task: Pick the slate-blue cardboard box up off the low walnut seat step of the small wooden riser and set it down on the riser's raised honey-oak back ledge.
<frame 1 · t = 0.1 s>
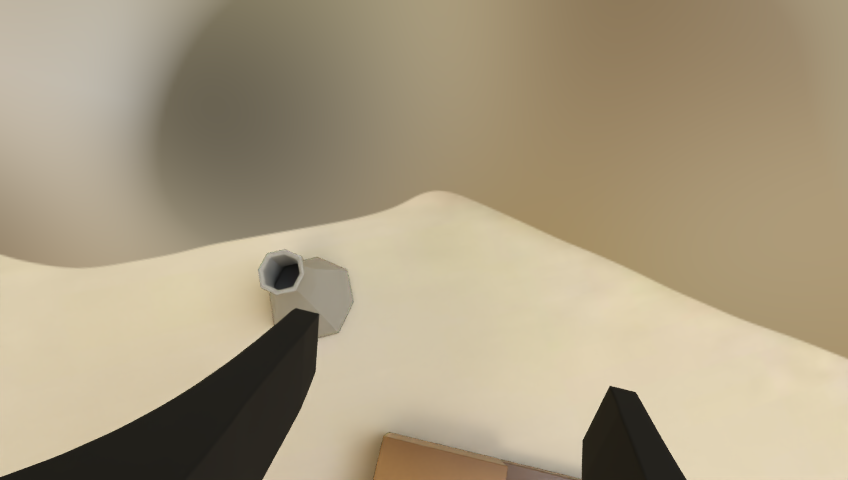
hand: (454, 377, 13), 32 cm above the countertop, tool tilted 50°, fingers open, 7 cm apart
flask: (312, 298, 46), on the countertop
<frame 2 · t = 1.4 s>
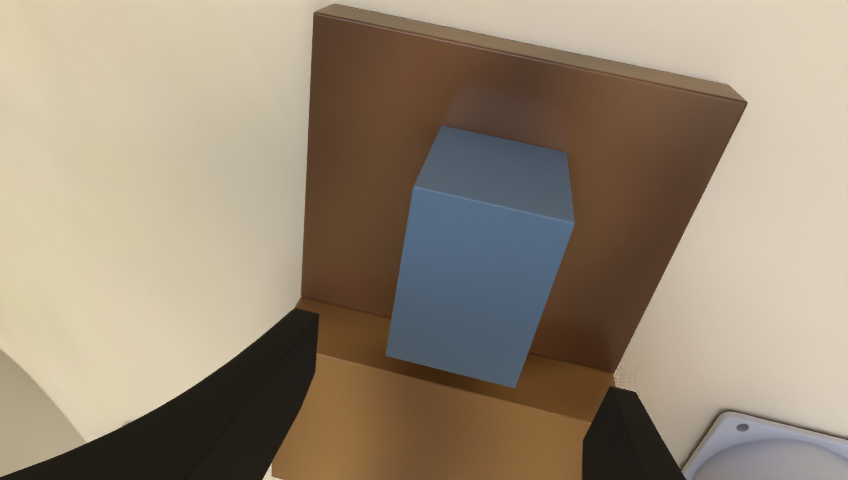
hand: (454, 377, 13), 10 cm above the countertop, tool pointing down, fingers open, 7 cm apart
riser: (463, 290, 25), on the countertop
blue box: (483, 217, 20), point 2 cm above the countertop, touching riser
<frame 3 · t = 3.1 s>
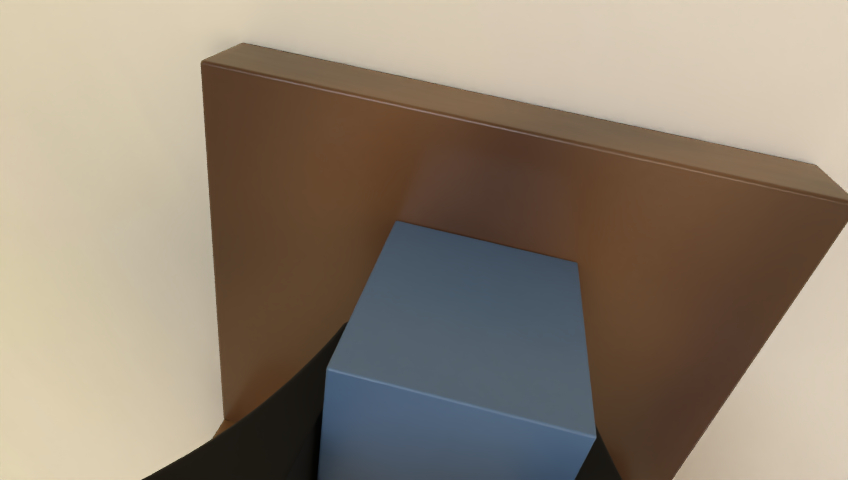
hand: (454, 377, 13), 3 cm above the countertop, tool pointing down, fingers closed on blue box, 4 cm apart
riser: (439, 406, 19), on the countertop
blue box: (459, 339, 14), point 2 cm above the countertop, touching gripper, riser
when the fingers open (6 cm above the countertop, at t = 6.9 s): blue box stays where it is, resting on riser.
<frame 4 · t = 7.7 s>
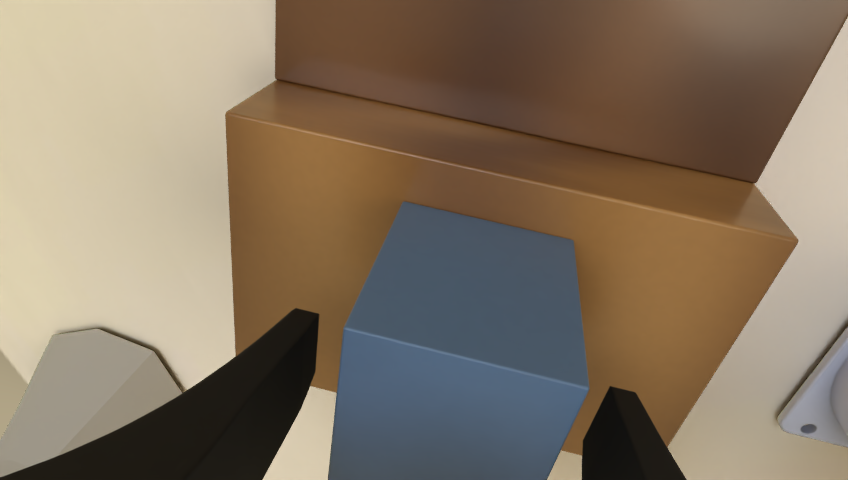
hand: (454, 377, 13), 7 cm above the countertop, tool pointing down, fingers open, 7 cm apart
riser: (518, 78, 17), on the countertop
blue box: (462, 315, 15), point 5 cm above the countertop, touching riser
flask: (123, 376, 28), on the countertop
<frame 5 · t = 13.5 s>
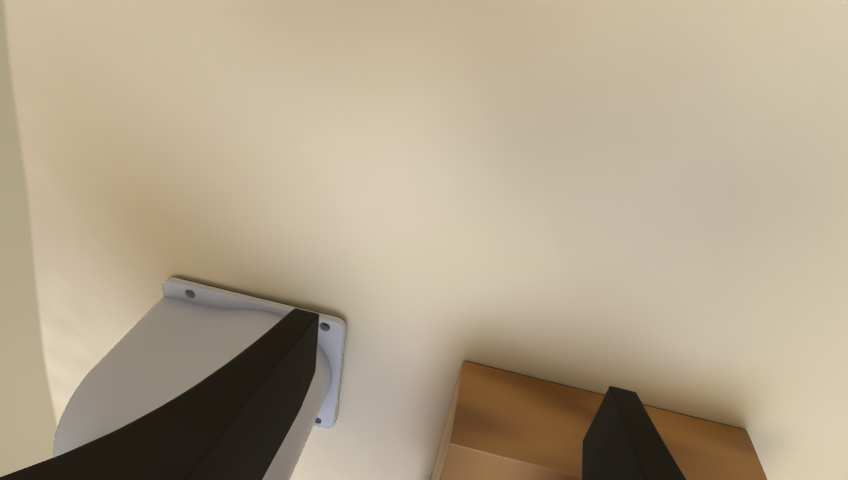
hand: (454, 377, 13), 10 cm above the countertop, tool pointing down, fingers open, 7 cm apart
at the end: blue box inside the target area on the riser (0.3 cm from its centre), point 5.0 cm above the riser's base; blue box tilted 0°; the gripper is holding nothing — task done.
